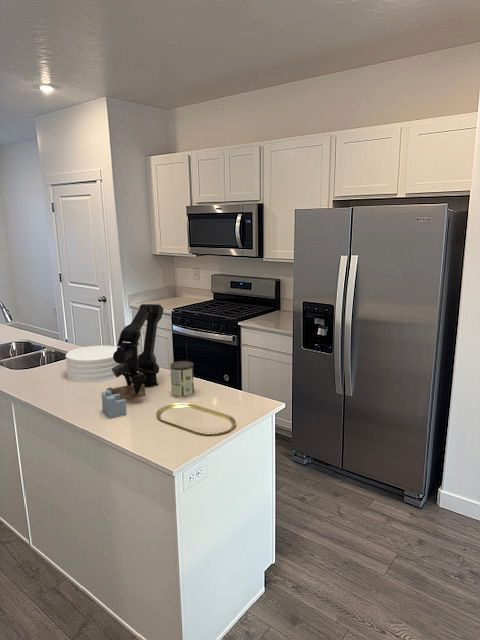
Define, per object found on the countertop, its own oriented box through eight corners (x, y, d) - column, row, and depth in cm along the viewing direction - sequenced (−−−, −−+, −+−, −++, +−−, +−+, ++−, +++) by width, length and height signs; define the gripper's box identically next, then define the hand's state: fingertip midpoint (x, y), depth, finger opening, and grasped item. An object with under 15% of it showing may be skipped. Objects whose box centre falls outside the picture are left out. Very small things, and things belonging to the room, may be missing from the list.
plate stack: (101, 362, 248) (100, 342, 246) (135, 371, 232) (134, 350, 230) (56, 375, 226) (54, 354, 224) (89, 386, 210) (88, 363, 208)
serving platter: (214, 442, 156) (214, 438, 155) (146, 417, 176) (146, 414, 176) (245, 423, 171) (245, 419, 170) (179, 403, 191) (179, 399, 190)
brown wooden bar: (142, 393, 201) (141, 381, 200) (145, 395, 198) (144, 383, 197) (107, 400, 193) (106, 388, 192) (109, 403, 190) (109, 390, 189)
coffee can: (179, 388, 207) (178, 359, 204) (198, 392, 203) (197, 362, 200) (166, 396, 198) (165, 365, 195) (186, 399, 194) (185, 368, 191)
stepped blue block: (119, 407, 185) (118, 384, 183) (126, 414, 178) (125, 390, 176) (102, 410, 182) (101, 387, 180) (109, 418, 174) (107, 394, 172)
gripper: (106, 355, 197) (108, 388, 200) (120, 365, 182) (122, 401, 185) (130, 351, 203) (132, 383, 206) (145, 361, 188) (147, 396, 191)
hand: (133, 390), depth 197 cm, fingers open, 9 cm apart
